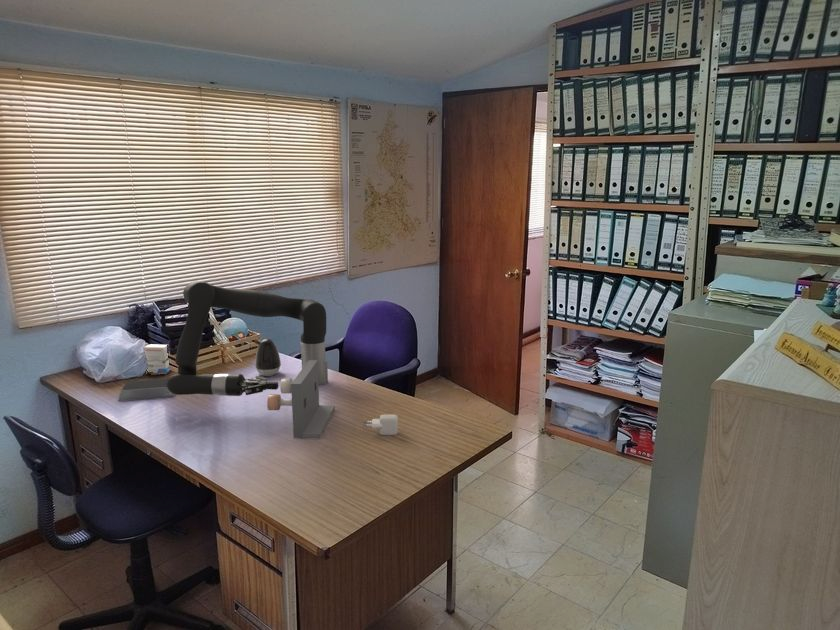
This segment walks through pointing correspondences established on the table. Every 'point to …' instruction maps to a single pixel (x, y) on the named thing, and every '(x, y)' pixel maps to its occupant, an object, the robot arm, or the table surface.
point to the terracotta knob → (277, 402)
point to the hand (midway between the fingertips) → (277, 385)
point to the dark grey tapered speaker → (267, 358)
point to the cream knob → (286, 385)
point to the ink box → (157, 358)
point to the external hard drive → (145, 390)
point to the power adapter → (385, 424)
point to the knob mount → (308, 404)
